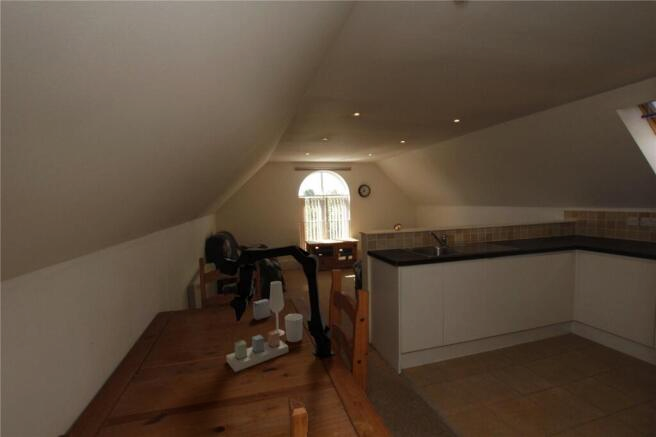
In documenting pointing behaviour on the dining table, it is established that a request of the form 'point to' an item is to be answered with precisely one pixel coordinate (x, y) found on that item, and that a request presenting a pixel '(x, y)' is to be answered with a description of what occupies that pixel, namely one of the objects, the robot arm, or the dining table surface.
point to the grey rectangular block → (257, 343)
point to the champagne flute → (276, 301)
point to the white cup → (293, 327)
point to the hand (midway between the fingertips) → (240, 316)
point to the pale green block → (240, 349)
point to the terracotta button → (273, 338)
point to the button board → (256, 356)
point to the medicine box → (261, 309)
